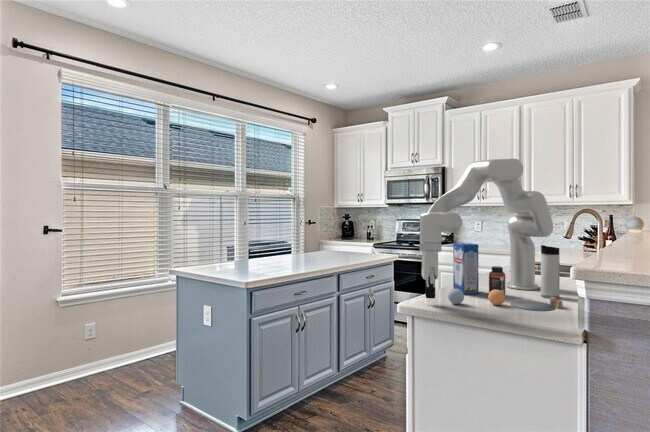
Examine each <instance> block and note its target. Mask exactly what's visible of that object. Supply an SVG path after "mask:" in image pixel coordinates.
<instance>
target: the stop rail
mask: <svg viewBox="0 0 650 432" xmlns="http://www.w3.org/2000/svg"><path fill="white" fill-rule="evenodd" d="M549 304H551V305H553V306H555V309H558V310H562V309H563V301H562V300H560V299H559V298H557V299H556V298H554V297H550V298H549Z"/></svg>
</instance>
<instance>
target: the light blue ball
mask: <svg viewBox="0 0 650 432" xmlns="http://www.w3.org/2000/svg"><path fill="white" fill-rule="evenodd" d="M447 294H448V295H447V298H448V300H449V302H450V303H451V304H453V305H460V304H461V303H462V302H463V301H464V299H465V295H464V294H463V292H462V291H461V290H459V289H450V291H449V292H448V293H447Z"/></svg>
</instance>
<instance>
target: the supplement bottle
mask: <svg viewBox="0 0 650 432" xmlns="http://www.w3.org/2000/svg"><path fill="white" fill-rule="evenodd" d="M492 290H500V291H502V292H503V293H504V295H505V296H506V273H505V272H504V271H503V266H494V265H493V266H491V271H490V272H489V273H488V294H489V293H490V292H491V291H492Z"/></svg>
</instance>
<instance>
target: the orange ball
mask: <svg viewBox="0 0 650 432" xmlns="http://www.w3.org/2000/svg"><path fill="white" fill-rule="evenodd" d="M505 300H506V294H505V295H504V293H503V292H502V291H500V290H492V291H491V292H490V293H489V292H488V301H489V303H490V304H492V305H494V306H501V305H502V304H504V302H505Z"/></svg>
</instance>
